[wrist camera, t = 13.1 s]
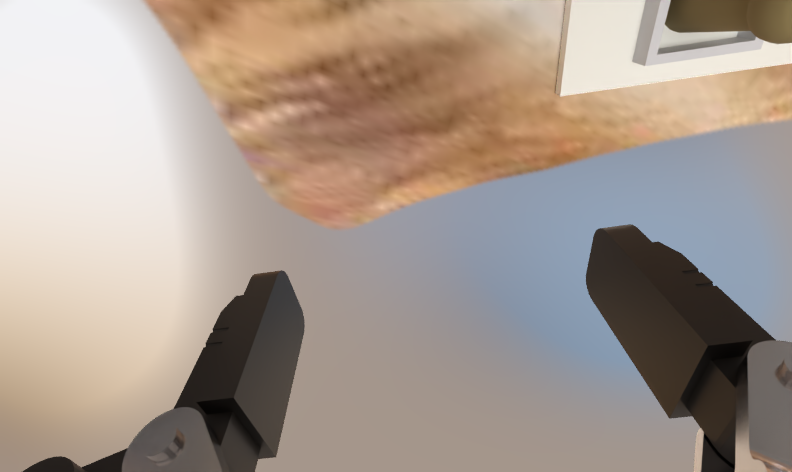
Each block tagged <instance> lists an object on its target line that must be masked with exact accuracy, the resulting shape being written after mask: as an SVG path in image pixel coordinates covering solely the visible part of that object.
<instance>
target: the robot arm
mask: <svg viewBox="0 0 792 472" xmlns="http://www.w3.org/2000/svg"><path fill="white" fill-rule="evenodd" d="M712 283H713V282H712V281H711V280H710V279H708V278H707V277H706V276H705V275H704V274H703V273H702V272H701V273H699V271H698V268H696V267H695V266H694V265H693V264H692V263H691V262H690V261H689V260H688V259H687V258H686V257H685V256H683V255H682V254H681V253H679V252H677V251H675V250H673V249H671V248H669V247H668V246H665V245H664V244H662V243H660V242H651V241H650V240H649V239H648V238H647V237H646V236H645V235H644V234H643V233H642V232H641V231H640V230H639V229H638V228H637V227H635V226H634V225H623V226H615V227H608V228H600V229H598V230H596V232H595V234H594V237H593V243H592V248H591V253H590V258H589V263H588V268H587V273H586V285H587V289H588V292H589V295H590V297H591V299H592V300H593V302H594V304H595V305H596V306H597V308H598V309H599V311H600V313H601V314H602V316H603V317H604V319H605V320H606V322H607V323H608V325H609V327H610V328H611V330H612V331H613V333H614V334H615V336H616V337H617V339H618V340H619V342H620V343H621V345H622V346H623V348H624V349H625V351H626V353H627V354H628V356H629V357H630V359H631V360H632V362H633V363H634V365H635V366H636V368H637V369H638V371H639V372H640V374H641V376H642V377H643V379H644V380H645V382H646V383H647V385H648V386H649V388H650V389H651V391H652V392H653V394H654V395H655V397H656V399H657V400H658V402H659V403H660V405H661V406H662V408H663V409H664V411H665V412H666V414H667V415H668V417H669V418H678V417H688V416H693V417H694V419H695V420H696V422H697V423H698V424H699V426H700V429H699V431H698V432H697V436H696V448H695V460H694V471H693V472H792V342H786V341H776V340H775V339H774V338H773V337H772V336H771V335H769V334H768V333H767V332H766V331H765V330H764V329H763V328H762V327H761V326H760V325H758V323H756V322H755V321H754V320H753V319H752V318H751V317H750V316H749V315H747V314H746V312H744V311H743V310H742V309H741V308H740V307H739V306H738V305H737V304H736V303H734V301H732V300H731V299H730V298H729V297H728V296H727V295H726V294H725V293H724V292H723V291H722V290H720V289H719V288H718V287H717V286H713V284H712ZM303 335H304V316H303V312H302V309H301V307H300V304H299V302H298V299H297V297H296V295H295V292H294V290H293V287H292V285H291V283H290V280H289V278H288V276H287V274H286V273H285V272H284V271H275V272H267V273H260V274H254V275H253V276H252V277H251V279H250V281H249V284H248V286H247V288H246V291H245V293H244V295H241V296H236V297H235V298H234V299H233V300H232V301H231V302H230V303H229V304H228V305H227V307H225V308H224V310H223V311H222V312H221V313H220V315H219V317H218V319H217V321H216V324H215V325H214V328H213V333H211V334H210V336H209V338H208V340H207V342H206V347H205V348H203V350H202V352H201V354H200V356H199V358H198V360H197V362H196V365H195V366H194V369H193V371H192V373H191V375H190V377H189V379H188V381H187V383H186V385H185V387H184V389H183V391H182V393H181V395H180V397H179V399H178V401H177V403H176V405H175V407H174V409H172V410H170V411H167V412H165V413H163V414H161V415H160V416H158V417H156V418H155V419H153V420H152V421H151V422H150V423H148V424H147V425H146V426H145V427H144V428H143V429H142V430H141V431H140V432H139V433H138V434H137V436H136V437H135V438H134V439H133V441H132V442H131V444H130V445H129V447H128V448H127V449H125V450H122V451H120V452H117V453H115V454H113V455H110V456H108V457H105V458H103V459H101V460H98V461H96V462H94V463H91V464H89V465H86V466H84V467H82V468H81V467H80V466H78V465H77V464H75V463H74V462H73V461H71V460H70V459H68V458H66V457H52V458H48V459H45V460H43V461H40V462H38V463H36V464H34V465H32V466H31V467H29V468H27V469H26V470H24V471H23V472H255V468H256V465H257V461H258V459H262V458H272V457H276V454H277V450H278V445H279V441H280V437H281V432H282V428H283V424H284V419H285V415H286V410H287V405H288V401H289V397H290V392H291V388H292V384H293V379H294V375H295V370H296V366H297V361H298V357H299V352H300V348H301V343H302V339H303Z"/></svg>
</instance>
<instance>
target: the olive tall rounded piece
mask: <svg viewBox="0 0 792 472" xmlns="http://www.w3.org/2000/svg"><path fill="white" fill-rule="evenodd" d="M665 25H666V26H667V27H668V28H669V29H670V30H672V31H675V32H678V33H692V32H732V31H751V32H752V33H753V34H754V36H756V37H757V38H759V39H761V40H764V41H767V42H769V43H774V44H786V43H792V0H671V1H670V5H669V9H668V13H667V17H666V21H665Z"/></svg>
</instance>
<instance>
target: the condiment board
mask: <svg viewBox="0 0 792 472" xmlns="http://www.w3.org/2000/svg"><path fill="white" fill-rule="evenodd" d="M670 1H671V0H566V4H565V12H564V21H563V30H562V39H561V48H560V56H559V65H558V74H557V83H556V92H555V93H556V94H557V95H559V96H567V95H574V94H581V93H588V92H594V91H601V90H608V89H615V88H622V87H629V86H636V85H643V84H650V83H657V82H664V81H671V80H678V79H685V78H692V77H699V76H706V75H713V74H720V73H727V72H734V71H741V70H748V69H755V68H762V67H769V66H776V65H783V64H790V63H792V43H786V44H774V43H769V42H767V41H764V40H761V39H759V38H757V37H756V36H754V34H753V33H752V32H751V31H732V32H692V33H678V32H675V31H672V30H670V29H669V28H668V27H667V26H666V25H665V21H666V17H667V13H668V9H669V5H670Z"/></svg>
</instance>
